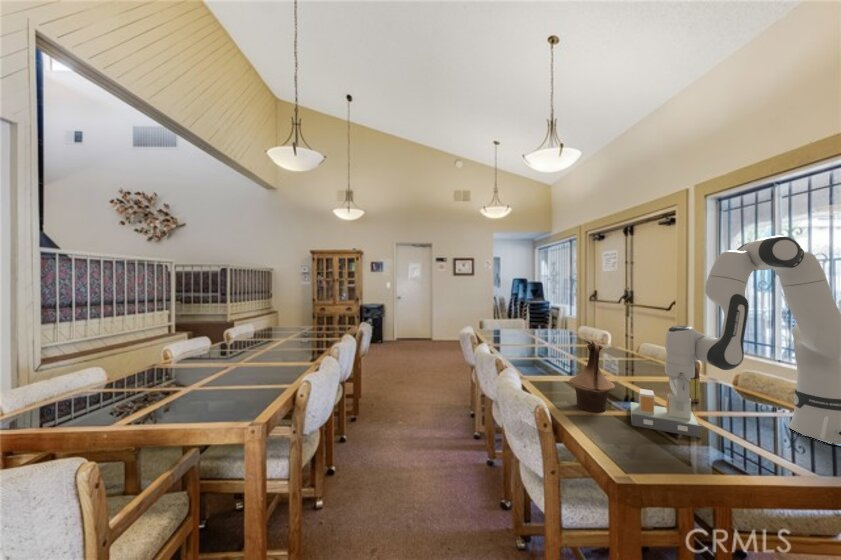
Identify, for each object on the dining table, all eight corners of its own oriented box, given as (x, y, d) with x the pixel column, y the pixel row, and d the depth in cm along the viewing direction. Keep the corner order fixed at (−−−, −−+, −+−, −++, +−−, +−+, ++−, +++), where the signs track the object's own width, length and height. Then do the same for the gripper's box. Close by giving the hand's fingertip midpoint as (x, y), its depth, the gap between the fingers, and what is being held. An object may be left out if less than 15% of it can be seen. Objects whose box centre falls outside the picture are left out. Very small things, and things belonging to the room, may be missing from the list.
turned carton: (690, 419, 128) (691, 400, 127) (667, 415, 131) (668, 396, 131) (688, 414, 132) (688, 396, 131) (666, 411, 135) (666, 393, 135)
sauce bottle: (693, 398, 157) (694, 353, 157) (703, 403, 151) (704, 357, 151) (677, 397, 158) (678, 353, 157) (686, 403, 152) (687, 356, 151)
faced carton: (652, 408, 138) (652, 390, 138) (654, 414, 132) (654, 396, 132) (638, 406, 140) (639, 388, 140) (639, 412, 134) (640, 393, 134)
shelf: (691, 419, 135) (691, 408, 135) (700, 438, 120) (701, 426, 120) (630, 409, 145) (630, 399, 145) (631, 425, 130) (632, 414, 130)
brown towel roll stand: (621, 418, 136) (622, 345, 135) (573, 414, 139) (574, 343, 139) (607, 401, 153) (608, 336, 152) (565, 398, 157) (565, 335, 156)
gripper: (695, 378, 120) (694, 419, 120) (685, 364, 138) (684, 400, 138) (672, 376, 123) (672, 415, 124) (665, 362, 141) (665, 397, 141)
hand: (678, 407), depth 131 cm, fingers closed on turned carton, 4 cm apart
